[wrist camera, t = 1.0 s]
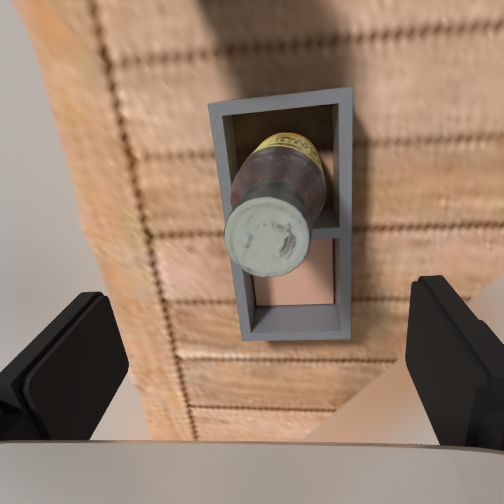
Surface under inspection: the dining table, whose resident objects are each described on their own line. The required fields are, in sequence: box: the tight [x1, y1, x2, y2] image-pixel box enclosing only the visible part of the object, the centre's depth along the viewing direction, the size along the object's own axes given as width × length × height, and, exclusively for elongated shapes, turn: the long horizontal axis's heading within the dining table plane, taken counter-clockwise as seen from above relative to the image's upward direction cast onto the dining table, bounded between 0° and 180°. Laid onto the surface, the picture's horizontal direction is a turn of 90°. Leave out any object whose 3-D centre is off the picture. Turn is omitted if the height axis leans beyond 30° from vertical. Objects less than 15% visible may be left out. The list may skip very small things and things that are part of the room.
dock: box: [208, 87, 353, 341], centre depth 34 cm, size 11×23×5 cm, turn 6°
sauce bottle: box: [224, 132, 327, 278], centre depth 25 cm, size 6×6×20 cm
